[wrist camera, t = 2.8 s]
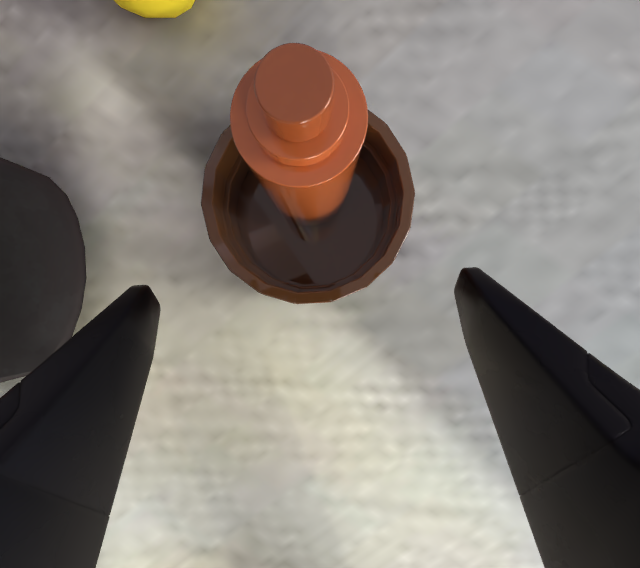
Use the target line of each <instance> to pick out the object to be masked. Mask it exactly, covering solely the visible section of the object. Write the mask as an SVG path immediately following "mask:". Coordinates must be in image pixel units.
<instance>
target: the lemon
mask: <svg viewBox="0 0 640 568" xmlns="http://www.w3.org/2000/svg"><path fill="white" fill-rule="evenodd" d="M114 1H115V2H116V3H117V4H118V5H119V6H120V7H121V8H123V9H126V10H128V11H130V12H133V13H135V14H137V15H140V16H142V17H144V18H176V17H177V16H179V15H181V14H182V13H184V12H186V11H187V10H189V9H190V8H192V6H193V4H194V2H195V0H114Z"/></svg>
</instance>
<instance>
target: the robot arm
mask: <svg viewBox="0 0 640 568" xmlns="http://www.w3.org/2000/svg"><path fill="white" fill-rule="evenodd" d="M454 294H455V299H456V304H457V308H458V313H459V317H460V322H461V326H462V331H463V335H464V339H465V343H466V346H467V349H468V352H469V355H470V357H471V360H472V363H473V366H474V369H475V371H476V374H477V377H478V380H479V383H480V386H481V388H482V391H483V394H484V397H485V400H486V403H487V405H488V408H489V411H490V414H491V417H492V420H493V422H494V425H495V428H496V431H497V434H498V437H499V439H500V442H501V445H502V448H503V451H504V454H505V456H506V459H507V462H508V465H509V468H510V470H511V473H512V476H513V479H514V482H515V485H516V487H517V490H518V493H519V495H520V499H521V502H522V505H523V508H524V511H525V513H526V516H527V519H528V522H529V525H530V528H531V530H532V533H533V536H534V539H535V542H536V545H537V547H538V550H539V553H540V556H541V559H542V562H543V564H544V567H545V568H640V390H639V389H638V388H636V387H635V386H633V385H632V384H631V383H629V382H628V381H626V380H625V379H623V378H622V377H621V376H619V375H618V374H617V373H615V372H614V371H613V370H611V369H610V368H609V367H607V366H606V365H604V364H603V363H602V362H601V361H599V360H598V359H597V358H595V357H594V356H593V355H591V354H590V353H588V354H587V351H586V350H585V349H583V348H582V347H581V346H580V345H578V344H577V343H576V342H574V341H573V340H572V339H570V338H569V337H568V336H567V335H565V334H564V333H563V332H561V331H560V330H559V329H557V328H556V327H555V326H553V325H552V324H551V323H550V322H548V321H547V320H546V319H544V318H543V317H542V316H540V315H539V314H538V313H537V312H535V311H534V310H533V309H531V308H530V307H529V306H527V305H526V304H525V303H524V302H522V301H521V300H520V299H518V298H517V297H516V296H514V295H513V294H512V293H511V292H509V291H508V290H507V289H505V288H504V287H503V286H501V285H500V284H499V283H497V282H496V281H495V280H494V279H492V278H491V277H490V276H488V275H487V274H486V273H484V272H483V271H482V270H481V269H479V268H476V267H472V268H463V269H462V270H461V272H460V274H459V277H458V280H457V282H456V285H455V289H454ZM159 316H160V304H159V302H158V300H157V298H156V297H155V295H154V293H153V292H152V290H151V288H150V287H149V286H147V285H135V286H132V287H130V288H129V289H128V290H127V291H125V292H124V293H123V294H122V295H121V296H120V297H118V298H117V299H116V300H115V301H114V302H113V303H111V304H110V305H109V306H108V307H107V308H106V309H104V310H103V311H102V312H101V313H100V314H98V315H97V316H96V317H95V318H94V319H93V320H91V321H90V322H89V323H88V324H87V325H86V326H84V327H83V328H82V329H81V330H80V331H79V332H77V333H76V334H75V335H74V336H73V337H72V338H70V339H69V340H68V341H67V342H66V343H64V344H63V345H62V346H61V347H60V348H59V349H57V350H56V351H55V352H54V353H53V354H52V355H50V356H49V357H48V358H47V359H46V360H45V361H43V362H42V363H41V364H40V365H39V366H38V367H36V368H35V369H34V370H33V371H32V372H30V373H29V374H28V375H27V376H26V377H25V378H23V379H22V380H21V383H17V384H16V385H15V386H14V387H13V388H12V389H10V390H9V391H8V392H7V393H6V394H5V395H3V396H2V397H1V398H0V568H96V564H97V560H98V557H99V553H100V549H101V546H102V542H103V539H104V535H105V531H106V528H107V524H108V520H109V515H110V512H111V509H112V505H113V502H114V498H115V494H116V491H117V487H118V483H119V480H120V476H121V473H122V469H123V465H124V462H125V458H126V454H127V451H128V447H129V443H130V440H131V436H132V433H133V429H134V425H135V422H136V418H137V414H138V411H139V407H140V404H141V400H142V396H143V393H144V389H145V385H146V382H147V378H148V375H149V371H150V367H151V364H152V360H153V355H154V350H155V343H156V336H157V330H158V323H159Z"/></svg>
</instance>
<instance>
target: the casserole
mask: <svg viewBox="0 0 640 568" xmlns="http://www.w3.org/2000/svg"><path fill="white" fill-rule="evenodd" d="M85 283H86V263H85V246H84V242H83V238H82V234H81V230H80V225H79V221H78V218H77V216H76V214H75V211H74V209H73V207H72V205H71V203H70V201H69V199H68V197H67V195H66V194H65V193H64V192H63V191H62V190H61V189H60V188H59V187H58V186H57V185H56V184H55V183H54V182H53V181H52V180H51V179H50V178H49V177H47V176H45V175H42V174H40V173H37V172H35V171H32V170H30V169H27V168H25V167H23V166H20V165H18V164H15V163H13V162H10V161H8V160H5V159H3V158H0V382H4V381H7V380H11V379H15V378H19V377H23V376H26V375H28V374H29V373H30V372H32V371H33V370H34V369H35V368H36V367H38V366H39V365H40V364H41V363H42V362H43V361H45V360H46V359H47V358H48V357H49V356H50V355H52V354H53V353H54V352H55V351H56V350H57V349H59V348H60V347H61V346H62V345H63V344H64V343H66V342H67V341H68V340H69V339H70V338H71V337H72V335H73V332H74V329H75V326H76V323H77V320H78V318H79V315H80V312H81V309H82V303H83V297H84V290H85Z"/></svg>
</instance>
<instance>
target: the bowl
mask: <svg viewBox="0 0 640 568" xmlns="http://www.w3.org/2000/svg"><path fill="white" fill-rule="evenodd" d="M414 191H415V190H414V185H413V181H412V177H411V172H410V168H409V163H408V159H407V156H406V153H405V152H404V150H403V149H402V147H401V145H400V144H399V142H398V141H397V139H396V138H395V136H394V135H393V133H392V131H391V130H390V128H389V127H388V125H387V124H386V123H385V122H384V121H382V120H381V119H380V118H378V117H377V116H376V115H374V114H373V113H372V112H370V111H369V110H368V126H367V132H366V136H365V140H364V143H363V146H362V149H361V152H360V156H359V159H358V162H357V165H356V168H355V172H354V175H353V178H352V181H351V184H350V188H349V191H348V194H347V197H346V200H345V203H344V205H343V207H342V209H341V210H340V212H339V213H338V214H337V215H336V216H335V217H334V218H333V219H331V220H330V221H328V222H326V223H324V224H322V225H319V226H312V227H306V226H300V225H297V224H294V223H292V222H290V221H288V220H287V219H286V218H284V217H283V216H282V215H281V214H280V213H279V211H278V210H277V208H276V207H275V205H274V204H273V202H272V201H271V199H270V198H269V196H268V195H267V193H266V192H265V190H264V189H263V187H262V186H261V184H260V183H259V181H258V180H257V178H256V177H255V176H254V174H253V173H252V171H251V170H250V168H249V167H248V165H247V164H246V162H245V161H244V159H243V158H242V156H241V155H240V153H239V151H238V149H237V147H236V145H235V142H234V139H233V136H232V131H231V125H230V126H229V127H228V128H227V129H226V130H225V131H224V132H223V134H221V136H220V138H219V140H218V142H217V144H216V146H215V148H214V150H213V152H212V154H211V156H210V158H209V160H208V162H207V164H206V167H205V173H204V182H203V191H202V200H201V206H202V210H203V214H204V218H205V223H206V227H207V231H208V235H209V239H210V241H211V243H212V244H213V246H214V247H215V249H216V250H217V252H218V253H219V255H220V257H221V258H222V260H223V261H224V263H225V264H226V266H227V267H228V269H229V270H230V271H231V272H232V273H233V274H235V275H236V276H237V277H239V278H240V279H241V280H243V281H244V282H245V283H247V284H248V285H249V286H251V287H252V288H253V289H255V290H256V291H257V292H259V293H261V294H264V295H267V296H270V297H273V298H277V299H280V300H283V301H287V302H290V303H293V304H307V303H325V302H334V301H336V300H338V299H341V298H343V297H345V296H348V295H350V294H352V293H355V292H357V291H359V290H362V289H364V288H366V287H367V286H368V285H370V284H371V283H372V282H373V281H374V280H375V279H376V278H377V277H378V276H379V275H380V274H381V273H382V272H383V271H385V270H386V269H387V268H388V267H389V266H390V265H391V264H392V263H393V261H394V260H395V258H396V256H397V254H398V252H399V250H400V248H401V246H402V244H403V242H404V240H405V239H406V237H407V235H408V233H409V231H410V228H411V220H412V212H413V204H414V197H415V192H414Z"/></svg>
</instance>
